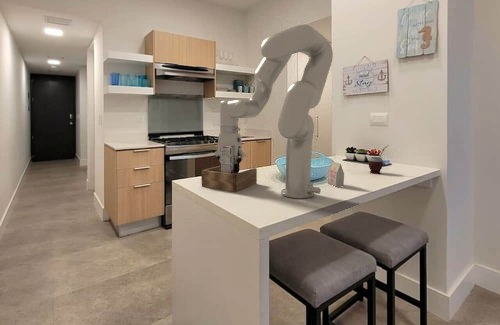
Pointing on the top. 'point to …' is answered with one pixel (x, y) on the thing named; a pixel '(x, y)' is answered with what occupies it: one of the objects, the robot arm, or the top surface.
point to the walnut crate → (228, 179)
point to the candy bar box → (227, 159)
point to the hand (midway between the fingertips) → (229, 171)
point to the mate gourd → (376, 163)
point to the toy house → (336, 175)
